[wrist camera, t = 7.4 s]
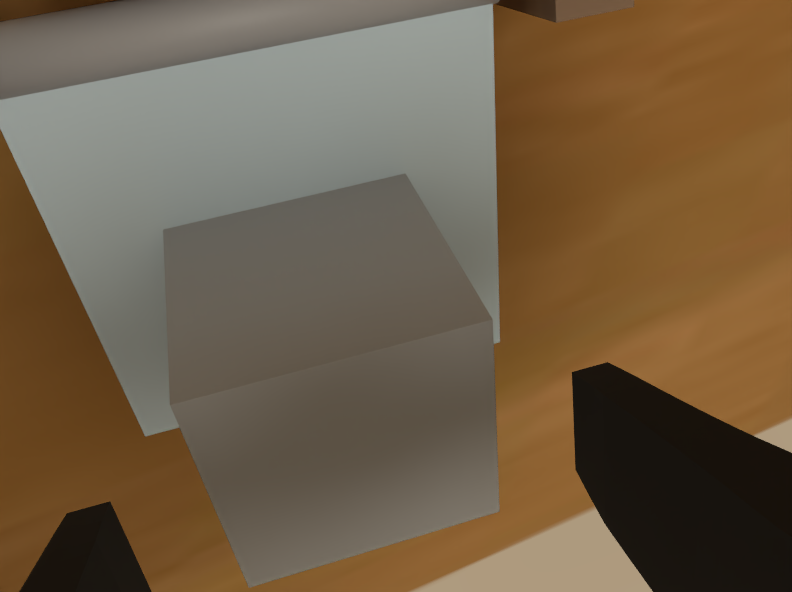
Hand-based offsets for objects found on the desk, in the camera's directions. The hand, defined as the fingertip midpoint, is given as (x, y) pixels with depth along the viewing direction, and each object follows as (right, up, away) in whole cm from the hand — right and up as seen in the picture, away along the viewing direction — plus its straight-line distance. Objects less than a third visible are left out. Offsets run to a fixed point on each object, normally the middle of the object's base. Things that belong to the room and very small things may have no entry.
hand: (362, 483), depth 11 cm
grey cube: (-1, +3, +5) cm, 6 cm away
